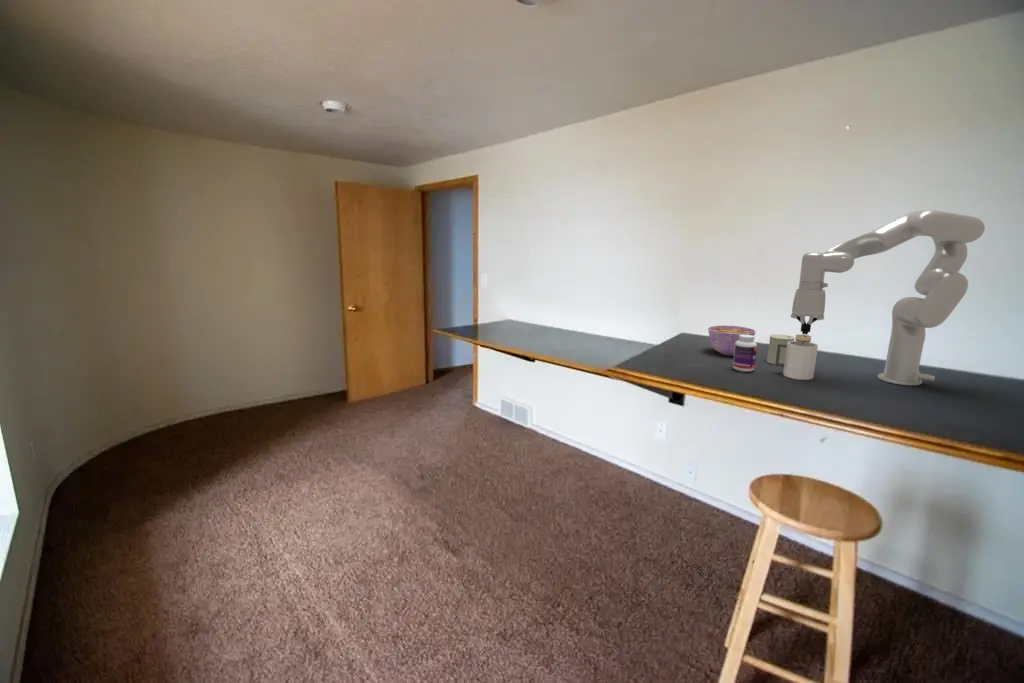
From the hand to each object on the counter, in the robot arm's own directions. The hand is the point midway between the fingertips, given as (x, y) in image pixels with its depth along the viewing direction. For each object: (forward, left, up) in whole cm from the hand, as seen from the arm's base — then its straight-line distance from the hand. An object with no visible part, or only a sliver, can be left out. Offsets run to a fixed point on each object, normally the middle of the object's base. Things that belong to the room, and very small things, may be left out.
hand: (805, 333), depth 172 cm
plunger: (0, 0, -15) cm, 15 cm away
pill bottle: (+19, +3, -17) cm, 26 cm away
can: (+9, -18, -17) cm, 27 cm away
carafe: (+2, 0, -17) cm, 17 cm away
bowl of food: (+30, -22, -17) cm, 41 cm away
